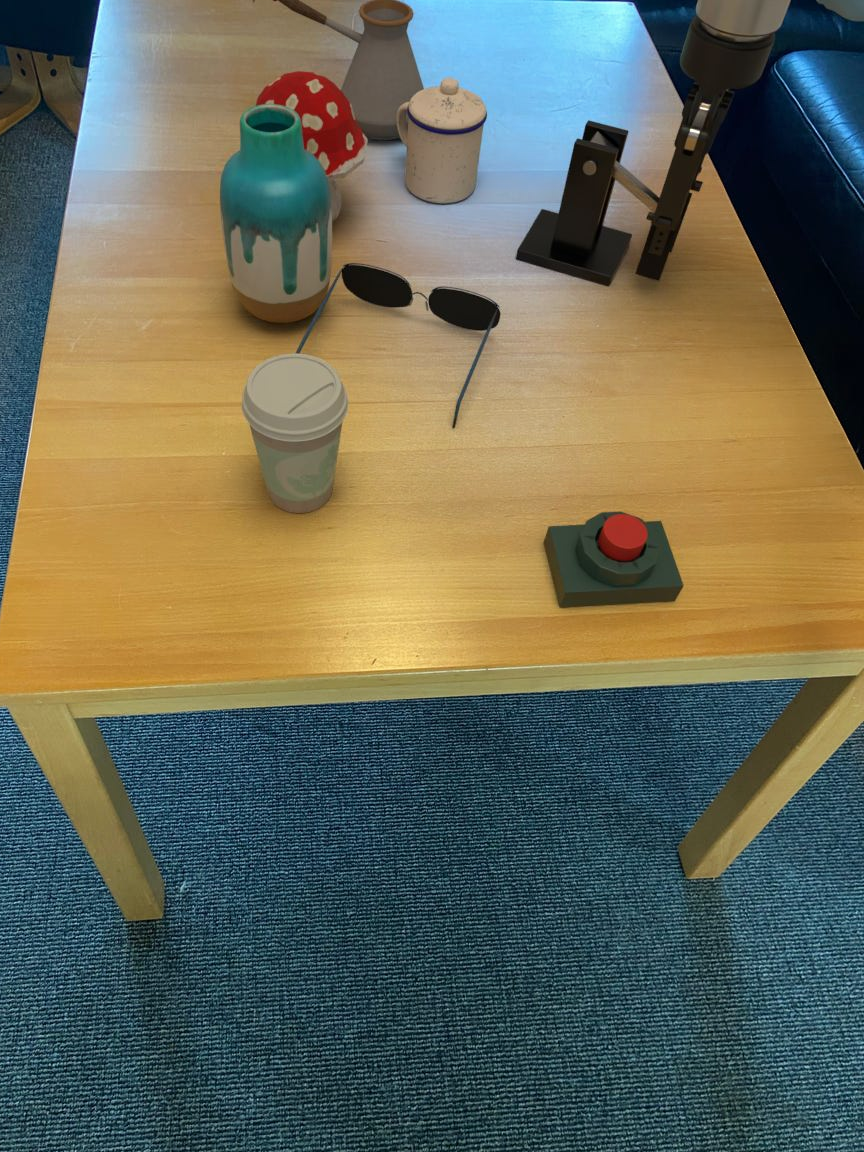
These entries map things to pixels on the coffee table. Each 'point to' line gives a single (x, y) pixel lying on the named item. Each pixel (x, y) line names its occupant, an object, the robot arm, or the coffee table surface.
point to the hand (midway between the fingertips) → (654, 261)
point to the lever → (629, 178)
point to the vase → (276, 218)
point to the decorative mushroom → (322, 124)
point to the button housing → (609, 567)
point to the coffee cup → (296, 427)
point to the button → (622, 537)
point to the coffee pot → (376, 64)
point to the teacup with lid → (442, 141)
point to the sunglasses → (398, 293)
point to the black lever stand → (582, 214)
